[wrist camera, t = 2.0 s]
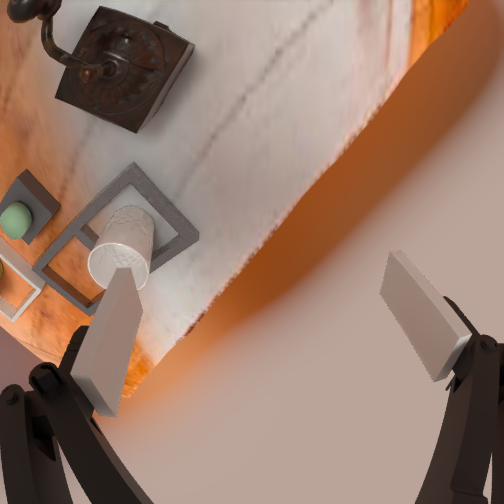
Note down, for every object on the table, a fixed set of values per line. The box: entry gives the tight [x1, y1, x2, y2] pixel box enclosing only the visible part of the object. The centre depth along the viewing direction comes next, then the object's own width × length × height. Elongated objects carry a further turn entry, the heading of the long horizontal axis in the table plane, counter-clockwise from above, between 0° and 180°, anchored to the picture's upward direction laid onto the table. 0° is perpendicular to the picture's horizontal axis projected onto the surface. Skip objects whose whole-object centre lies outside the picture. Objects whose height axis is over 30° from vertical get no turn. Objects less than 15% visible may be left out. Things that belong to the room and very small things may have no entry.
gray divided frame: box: [31, 162, 199, 317], centre depth 42 cm, size 14×26×2 cm, turn 123°
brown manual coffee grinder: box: [7, 0, 194, 133], centre depth 20 cm, size 16×11×18 cm
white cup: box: [88, 206, 155, 291], centre depth 38 cm, size 8×8×10 cm
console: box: [0, 169, 61, 245], centre depth 35 cm, size 8×8×3 cm
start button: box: [0, 202, 32, 239], centre depth 33 cm, size 5×5×5 cm
